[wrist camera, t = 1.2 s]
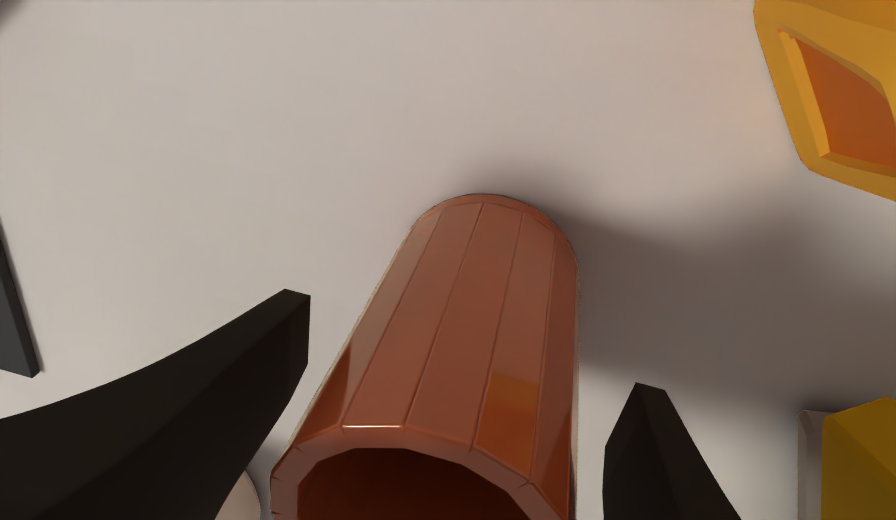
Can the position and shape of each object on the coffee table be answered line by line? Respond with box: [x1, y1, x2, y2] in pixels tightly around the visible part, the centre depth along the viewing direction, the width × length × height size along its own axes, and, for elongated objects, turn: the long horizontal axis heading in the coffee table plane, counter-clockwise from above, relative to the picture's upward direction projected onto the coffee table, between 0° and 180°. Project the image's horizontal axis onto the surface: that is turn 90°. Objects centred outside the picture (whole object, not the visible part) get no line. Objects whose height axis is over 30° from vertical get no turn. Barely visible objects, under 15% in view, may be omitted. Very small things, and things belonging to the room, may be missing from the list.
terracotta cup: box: [270, 194, 580, 520], centre depth 13 cm, size 5×5×8 cm
